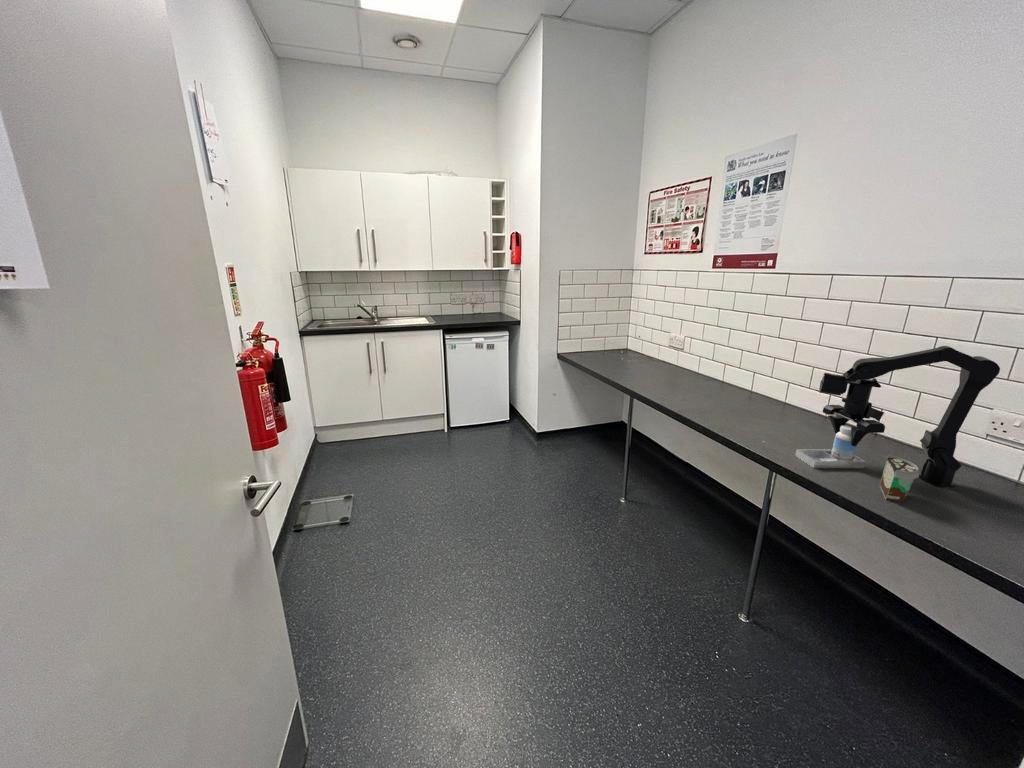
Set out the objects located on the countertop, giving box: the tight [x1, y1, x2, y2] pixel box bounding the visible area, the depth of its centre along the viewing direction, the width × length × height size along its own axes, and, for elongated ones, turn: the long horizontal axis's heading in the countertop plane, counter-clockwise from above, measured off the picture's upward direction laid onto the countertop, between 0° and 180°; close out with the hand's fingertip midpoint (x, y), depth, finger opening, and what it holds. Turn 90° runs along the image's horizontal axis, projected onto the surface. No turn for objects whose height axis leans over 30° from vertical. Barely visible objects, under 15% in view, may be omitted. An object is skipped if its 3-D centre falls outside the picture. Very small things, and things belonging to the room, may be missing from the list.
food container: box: [879, 454, 920, 502], centre depth 120 cm, size 12×6×10 cm, turn 148°
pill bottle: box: [831, 424, 858, 461], centre depth 139 cm, size 6×6×11 cm
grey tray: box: [794, 448, 866, 469], centre depth 141 cm, size 9×17×2 cm, turn 91°
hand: (845, 442), depth 139 cm, fingers closed on pill bottle, 6 cm apart
